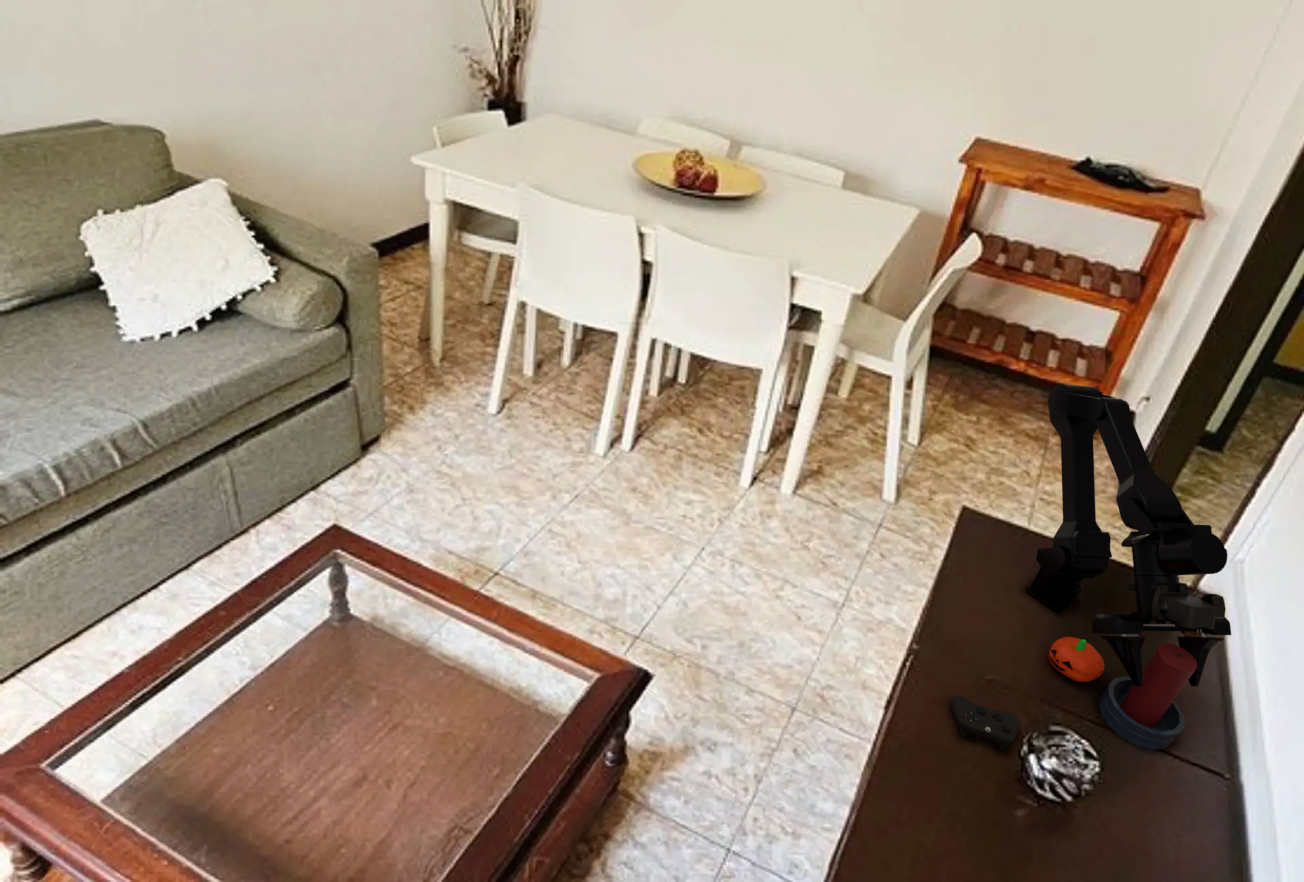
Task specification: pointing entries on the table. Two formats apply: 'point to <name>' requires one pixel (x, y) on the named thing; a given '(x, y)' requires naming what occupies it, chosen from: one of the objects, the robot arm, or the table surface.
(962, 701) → the gaming controller
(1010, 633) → the table surface
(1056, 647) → the pumpkin
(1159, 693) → the candle
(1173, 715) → the blue round dish
